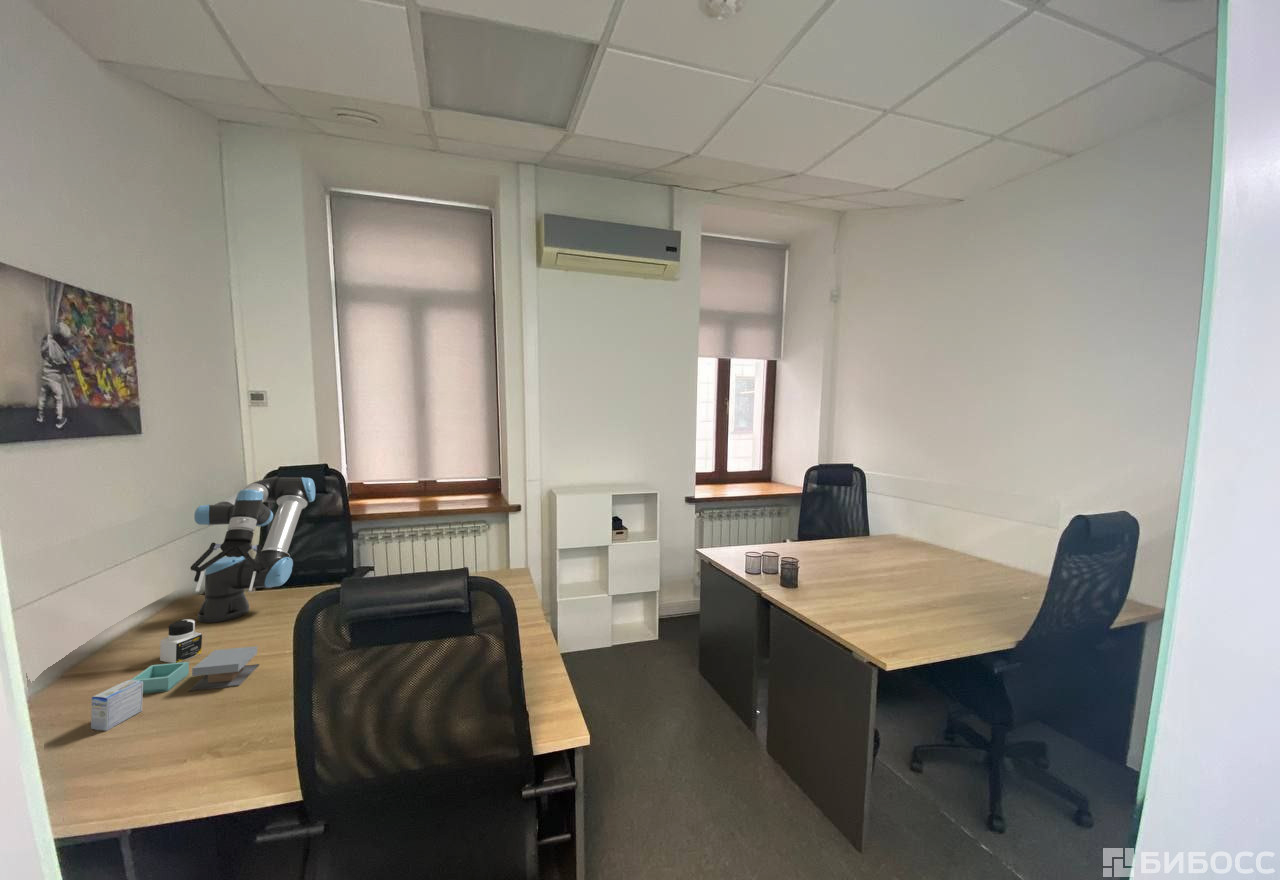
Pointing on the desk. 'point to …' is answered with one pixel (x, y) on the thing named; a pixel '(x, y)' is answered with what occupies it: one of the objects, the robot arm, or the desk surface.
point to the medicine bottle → (181, 642)
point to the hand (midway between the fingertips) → (224, 591)
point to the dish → (162, 676)
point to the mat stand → (224, 679)
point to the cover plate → (224, 661)
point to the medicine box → (116, 705)
